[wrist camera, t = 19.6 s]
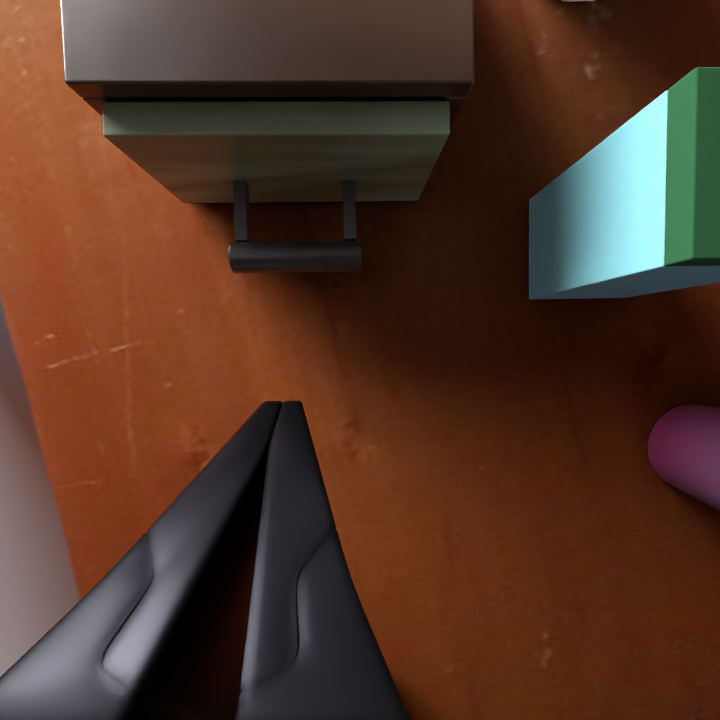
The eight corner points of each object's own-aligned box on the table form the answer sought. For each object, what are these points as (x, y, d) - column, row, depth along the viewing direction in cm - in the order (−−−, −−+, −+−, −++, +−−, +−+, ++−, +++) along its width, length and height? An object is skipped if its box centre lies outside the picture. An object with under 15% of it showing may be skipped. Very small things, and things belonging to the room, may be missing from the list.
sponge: (624, 298, 21) (871, 257, 11) (528, 299, 21) (691, 260, 11) (626, 198, 21) (881, 65, 11) (528, 199, 21) (696, 65, 11)
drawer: (418, 278, 20) (451, 248, 14) (186, 282, 19) (108, 253, 13) (414, -45, 19) (447, -237, 13) (172, -47, 19) (82, -245, 12)
